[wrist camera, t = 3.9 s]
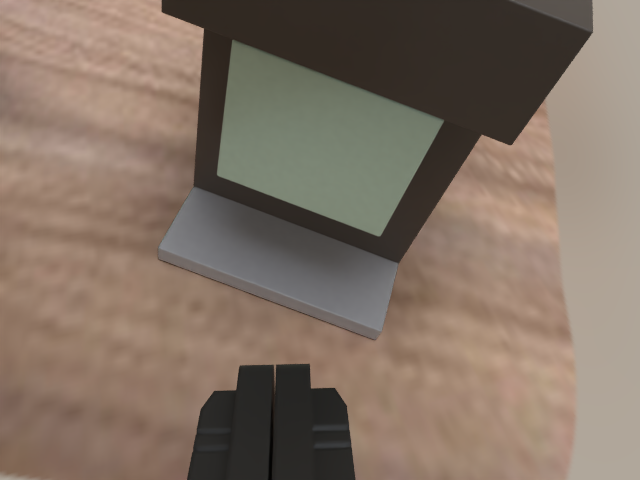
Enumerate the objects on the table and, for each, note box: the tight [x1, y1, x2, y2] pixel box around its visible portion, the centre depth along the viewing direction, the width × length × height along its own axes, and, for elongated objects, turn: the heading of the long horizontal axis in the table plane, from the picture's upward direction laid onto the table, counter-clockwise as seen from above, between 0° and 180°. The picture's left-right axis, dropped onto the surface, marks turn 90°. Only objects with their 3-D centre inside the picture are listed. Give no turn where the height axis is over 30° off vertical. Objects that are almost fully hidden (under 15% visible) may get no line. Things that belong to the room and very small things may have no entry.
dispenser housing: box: [158, 0, 593, 340], centre depth 23 cm, size 12×11×17 cm
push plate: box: [217, 40, 444, 236], centre depth 20 cm, size 2×7×6 cm, turn 73°
